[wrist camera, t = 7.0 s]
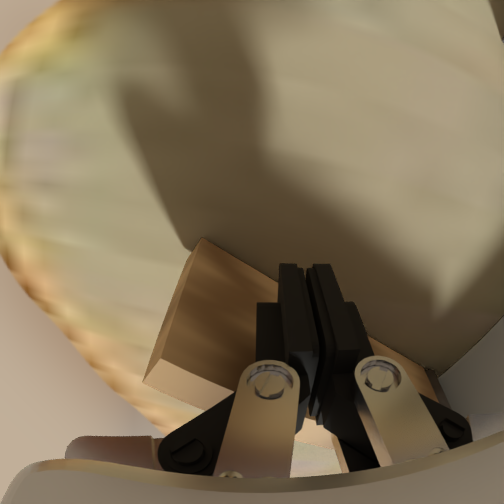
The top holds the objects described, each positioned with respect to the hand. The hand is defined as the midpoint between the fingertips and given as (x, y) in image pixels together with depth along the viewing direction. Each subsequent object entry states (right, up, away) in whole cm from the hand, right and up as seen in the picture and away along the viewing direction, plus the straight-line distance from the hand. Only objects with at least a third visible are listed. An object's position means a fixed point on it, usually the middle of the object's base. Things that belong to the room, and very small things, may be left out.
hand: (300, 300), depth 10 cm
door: (+4, -3, +7) cm, 9 cm away
